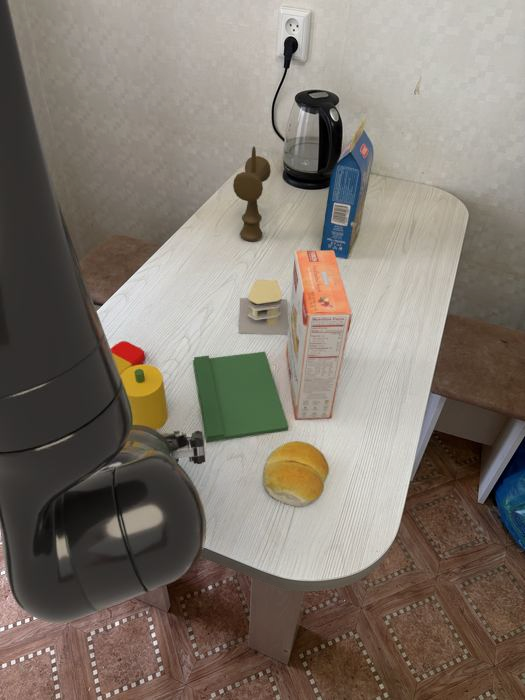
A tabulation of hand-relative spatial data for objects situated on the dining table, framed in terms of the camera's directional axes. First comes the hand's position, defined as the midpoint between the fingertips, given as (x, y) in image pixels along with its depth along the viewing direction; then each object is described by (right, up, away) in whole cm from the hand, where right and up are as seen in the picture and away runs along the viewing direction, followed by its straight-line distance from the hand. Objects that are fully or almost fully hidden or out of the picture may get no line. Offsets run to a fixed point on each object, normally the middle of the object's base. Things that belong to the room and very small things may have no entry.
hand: (141, 444), depth 60 cm
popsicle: (-10, +6, +19) cm, 23 cm away
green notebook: (+11, +4, +18) cm, 21 cm away
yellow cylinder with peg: (-2, +1, +14) cm, 14 cm away
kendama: (+12, +36, +51) cm, 64 cm away
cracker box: (+21, +5, +20) cm, 30 cm away
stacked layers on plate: (+15, +17, +32) cm, 39 cm away
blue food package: (+32, +35, +51) cm, 70 cm away
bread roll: (+19, -6, +8) cm, 21 cm away
